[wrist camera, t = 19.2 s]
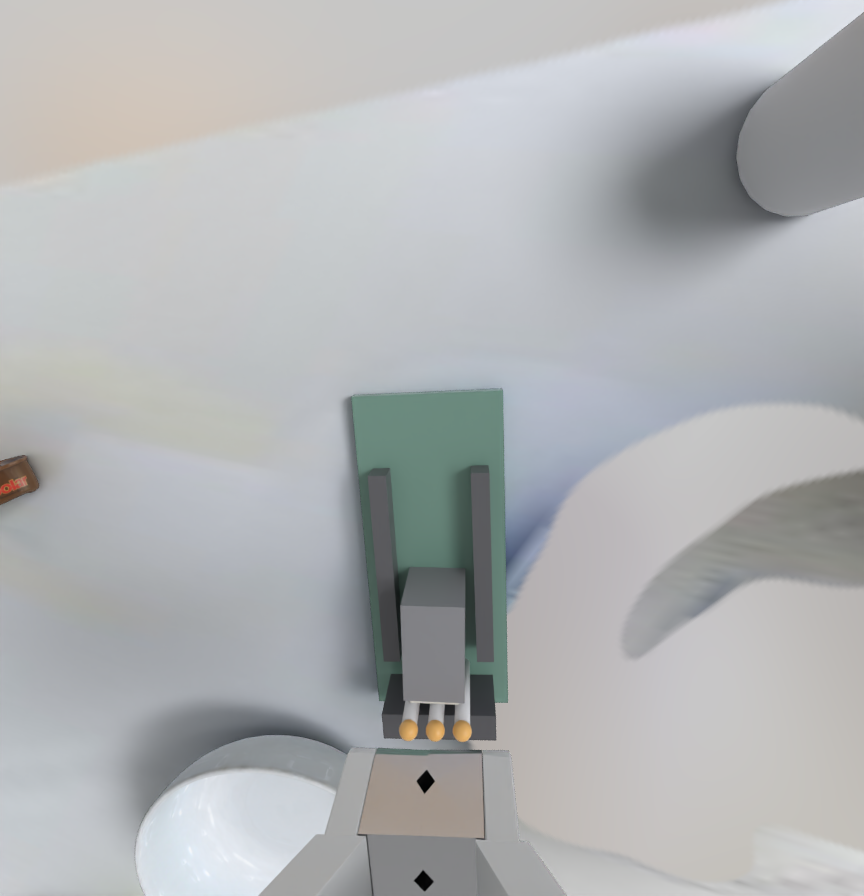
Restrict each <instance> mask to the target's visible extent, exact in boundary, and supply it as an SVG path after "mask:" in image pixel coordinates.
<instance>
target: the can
mask: <svg viewBox="0 0 864 896" xmlns="http://www.w3.org/2000/svg"><path fill="white" fill-rule="evenodd" d="M736 160H737V165H738V171H739V177H740V180H741V182H742V184H743V186H744V188H745V189H746V191H747V193H748V195H749V197H750V198H751V199H753V200H754V201H755V202H756V203H757V204H759V205H760V206H761V207H762V208H763V209H765V210H767V211H770V212H773V213H776V214H779V215H782V216H807V215H810V214H813V213H816V212H819V211H822V210H825V209H829V208H832V207H835V206H838V205H841V204H844V203H847V202H850V201H853V200H856V199H859V198H862V197H864V12H863V13H862V14H861V15H860V16H858V17H857V18H856V19H855V20H853V21H852V22H851V23H850V24H848V25H847V26H846V27H845V28H843V29H842V30H841V31H839V32H838V33H837V34H836V35H834V36H833V37H832V38H831V39H829V40H828V41H827V42H826V43H824V44H823V45H822V46H821V47H819V48H818V49H817V50H816V51H814V52H813V53H812V54H811V55H809V56H808V57H807V58H806V59H804V60H803V61H802V62H801V63H799V64H798V65H797V66H796V67H794V68H793V69H792V70H791V71H789V72H788V73H787V74H786V75H784V76H783V77H782V78H781V79H779V80H778V81H777V82H776V83H774V84H773V85H772V86H771V87H769V88H768V89H767V90H766V91H765V92H764V93H763V94H762V95H761V97H760V98H759V99H758V101H757V102H756V103H755V104H754V106H753V107H752V108H751V109H750V111H749V113H748V115H747V117H746V120H745V122H744V124H743V127H742V129H741V131H740V134H739V140H738V148H737V155H736Z"/></svg>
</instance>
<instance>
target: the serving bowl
mask: <svg viewBox="0 0 864 896" xmlns="http://www.w3.org/2000/svg"><path fill="white" fill-rule="evenodd" d="M346 757H347V754H345V753H343V752H341V751H340V750H338V749H336V748H334V747H331V746H329V745H327V744H324V743H321V742H318V741H315V740H311V739H307V738H303V737H297V736H290V735H264V736H256V737H250V738H245V739H242V740H238V741H235V742H232V743H229V744H226V745H224V746H222V747H219V748H217V749H215V750H213V751H211V752H209V753H208V754H206V755H204V756H203V757H201V758H200V759H198V760H197V761H195V762H194V763H192V764H191V765H190V766H189V767H188V768H186V769H185V770H184V771H183V772H182V773H181V774H179V775H178V776H177V777H176V778H175V779H174V780H173V781H172V782H171V783H170V785H169V786H168V787H167V788H166V789H165V790H164V791H163V792H162V793H161V795H160V796H159V797H158V798H157V799H156V801H155V802H154V803H153V804H152V805H151V807H150V808H149V810H148V811H147V813H146V815H145V816H144V818H143V820H142V822H141V825H140V828H139V830H138V834H137V838H136V843H135V867H136V872H137V876H138V880H139V883H140V886H141V888H142V891H143V893H144V895H145V896H258V895H259V894H260V893H261V892H262V891H263V890H264V889H265V888H266V887H267V886H268V885H269V884H270V883H271V882H272V880H273V879H274V878H275V877H276V876H277V875H278V874H279V873H280V872H281V871H282V870H283V869H284V868H285V867H286V866H287V865H288V864H289V862H290V861H291V860H292V859H293V858H294V857H295V856H296V855H297V854H298V853H299V852H300V851H301V850H302V849H303V848H304V847H305V845H306V844H307V843H308V842H309V841H310V840H311V839H312V838H313V837H314V836H315V835H316V834H325V830H326V827H327V823H328V820H329V816H330V813H331V809H332V806H333V802H334V799H335V795H336V792H337V788H338V785H339V781H340V778H341V774H342V771H343V767H344V764H345V760H346Z"/></svg>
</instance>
